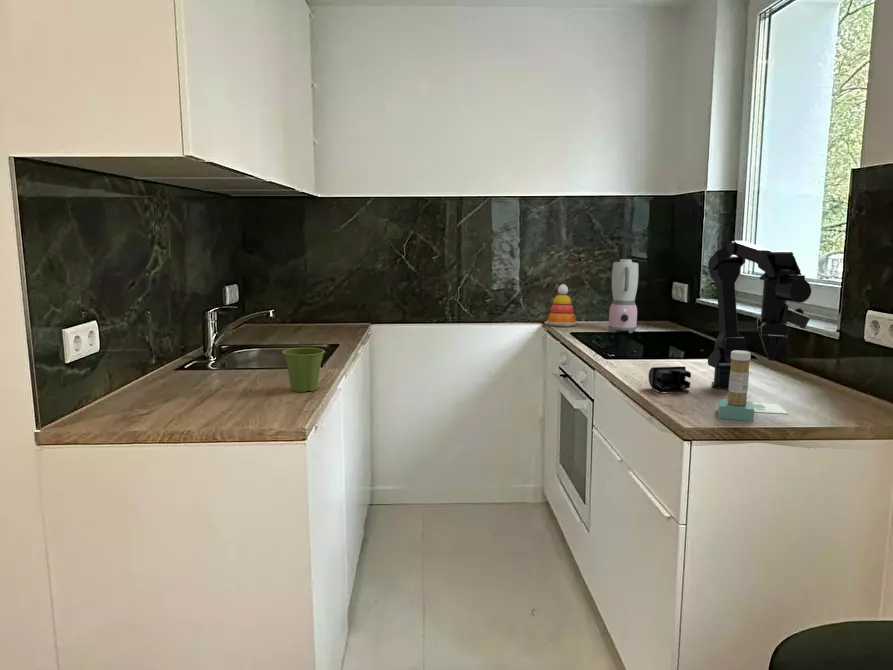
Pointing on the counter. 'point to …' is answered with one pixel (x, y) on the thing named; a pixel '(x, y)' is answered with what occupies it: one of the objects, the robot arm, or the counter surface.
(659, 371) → the end cap
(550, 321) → the stacking toy
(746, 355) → the sprinkles bottle
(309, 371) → the plant pot
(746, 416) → the brick
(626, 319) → the blender
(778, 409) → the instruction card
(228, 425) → the counter surface
